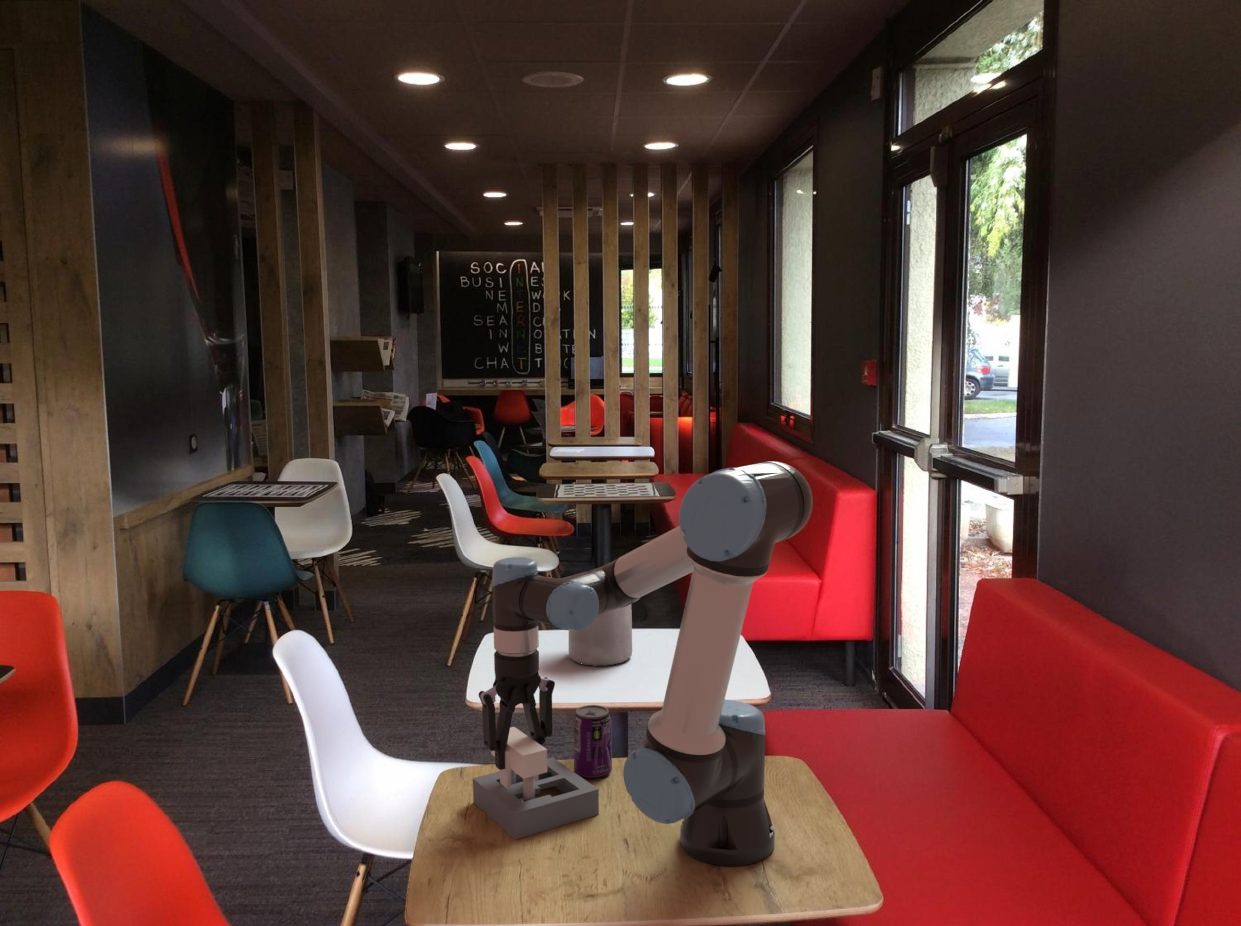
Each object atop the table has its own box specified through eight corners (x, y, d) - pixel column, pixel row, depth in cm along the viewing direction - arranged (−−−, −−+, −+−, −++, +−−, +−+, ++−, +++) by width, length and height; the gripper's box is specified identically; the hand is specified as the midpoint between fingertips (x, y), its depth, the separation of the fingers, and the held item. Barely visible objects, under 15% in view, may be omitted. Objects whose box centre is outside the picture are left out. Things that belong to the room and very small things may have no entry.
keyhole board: (553, 780, 191) (552, 757, 191) (598, 814, 178) (598, 789, 177) (473, 802, 183) (472, 778, 182) (515, 839, 169) (514, 813, 169)
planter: (566, 649, 269) (566, 590, 267) (628, 646, 271) (628, 588, 269) (570, 669, 253) (569, 607, 251) (636, 666, 255) (635, 604, 253)
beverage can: (607, 781, 191) (606, 719, 189) (569, 778, 192) (569, 716, 190) (615, 765, 198) (614, 705, 196) (579, 762, 199) (578, 702, 197)
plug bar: (548, 817, 175) (546, 749, 173) (524, 824, 172) (522, 755, 171) (515, 791, 185) (514, 726, 183) (492, 797, 182) (490, 732, 181)
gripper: (551, 635, 183) (553, 762, 186) (459, 653, 173) (462, 786, 176) (572, 646, 177) (574, 777, 180) (478, 665, 167) (482, 802, 170)
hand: (519, 781), depth 178 cm, fingers closed on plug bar, 4 cm apart
